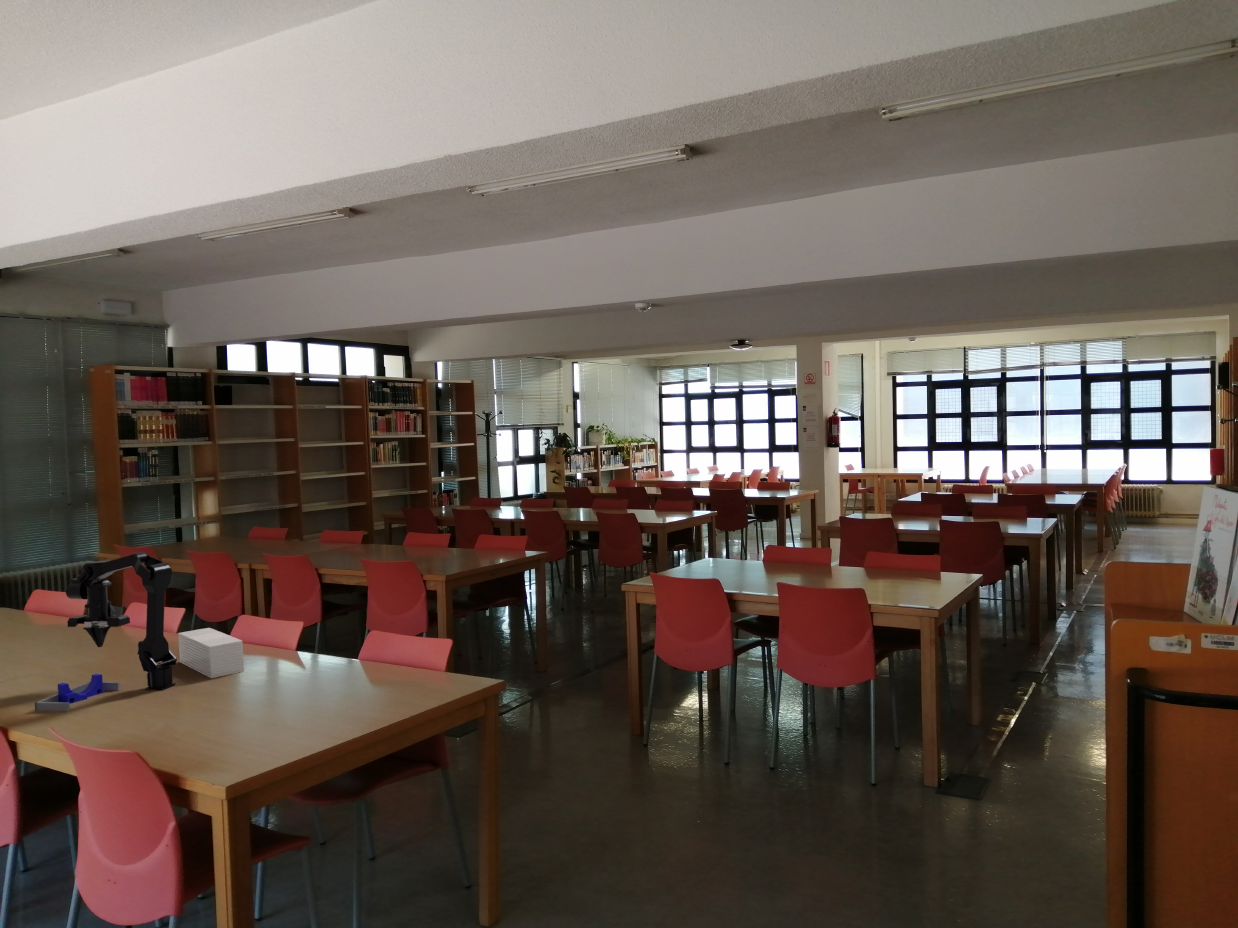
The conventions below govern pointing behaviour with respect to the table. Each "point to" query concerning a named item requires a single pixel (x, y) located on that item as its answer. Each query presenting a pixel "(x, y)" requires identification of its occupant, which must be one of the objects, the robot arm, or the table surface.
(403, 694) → the table surface
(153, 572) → the robot arm
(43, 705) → the bracket
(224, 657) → the stack of papers
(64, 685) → the blue cradle mount
